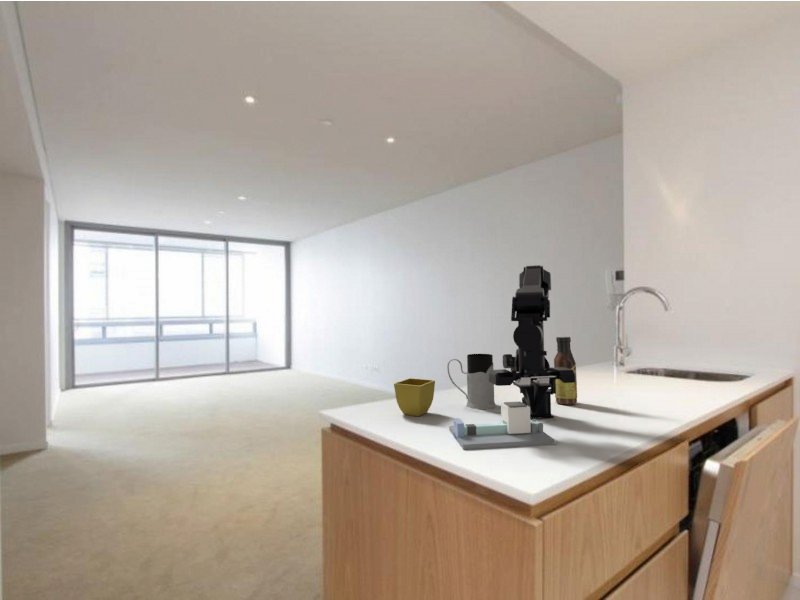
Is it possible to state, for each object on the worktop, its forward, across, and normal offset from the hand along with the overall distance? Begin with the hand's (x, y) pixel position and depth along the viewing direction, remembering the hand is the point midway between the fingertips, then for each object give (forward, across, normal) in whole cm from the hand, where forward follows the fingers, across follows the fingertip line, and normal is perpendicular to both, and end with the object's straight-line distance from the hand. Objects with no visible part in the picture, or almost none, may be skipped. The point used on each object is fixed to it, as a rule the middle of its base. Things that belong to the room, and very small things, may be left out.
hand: (532, 413), depth 99 cm
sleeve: (+4, +4, 0) cm, 5 cm away
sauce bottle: (+5, -22, -28) cm, 36 cm away
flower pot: (+5, +24, -24) cm, 34 cm away
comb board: (+5, +8, 0) cm, 9 cm away
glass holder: (+5, +6, -31) cm, 32 cm away
